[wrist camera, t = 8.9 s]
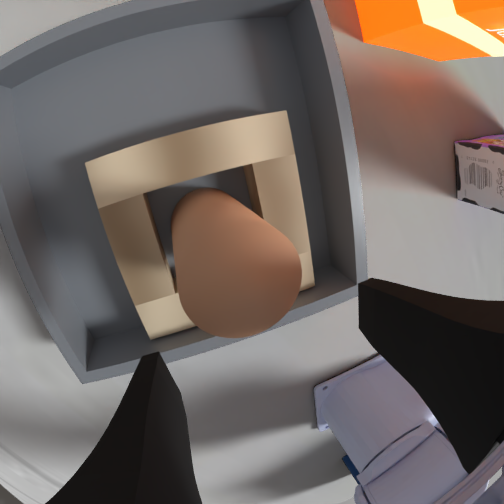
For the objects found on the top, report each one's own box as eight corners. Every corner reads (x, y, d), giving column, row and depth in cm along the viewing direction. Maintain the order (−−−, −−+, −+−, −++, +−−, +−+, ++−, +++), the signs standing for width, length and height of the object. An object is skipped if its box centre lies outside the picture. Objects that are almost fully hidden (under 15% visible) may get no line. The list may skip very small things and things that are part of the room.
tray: (289, 10, 14) (318, -15, 10) (335, 267, 21) (367, 291, 17) (5, 85, 11) (-28, 74, 7) (91, 344, 18) (82, 384, 14)
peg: (236, 181, 16) (297, 210, 9) (246, 249, 18) (304, 320, 11) (164, 195, 15) (164, 237, 8) (178, 264, 17) (194, 350, 10)
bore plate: (272, 114, 16) (286, 110, 14) (301, 272, 19) (315, 285, 18) (94, 161, 14) (84, 162, 12) (150, 321, 18) (150, 339, 16)
